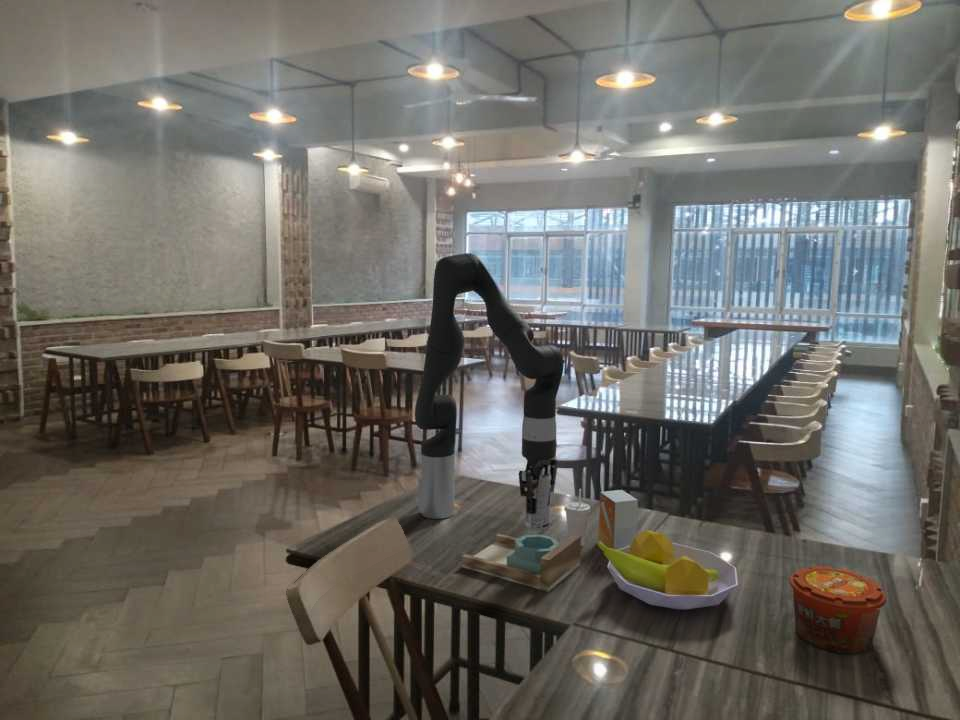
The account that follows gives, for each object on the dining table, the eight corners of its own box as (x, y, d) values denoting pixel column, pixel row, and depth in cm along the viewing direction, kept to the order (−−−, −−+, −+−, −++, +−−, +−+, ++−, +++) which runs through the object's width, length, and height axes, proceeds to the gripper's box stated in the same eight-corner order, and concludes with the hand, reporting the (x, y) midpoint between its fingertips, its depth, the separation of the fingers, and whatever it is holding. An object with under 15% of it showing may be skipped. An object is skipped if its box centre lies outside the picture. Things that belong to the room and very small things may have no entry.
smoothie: (591, 549, 170) (592, 493, 169) (564, 548, 171) (566, 493, 169) (587, 538, 177) (589, 485, 175) (562, 538, 177) (563, 484, 175)
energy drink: (549, 522, 159) (550, 471, 158) (549, 531, 154) (550, 478, 152) (525, 521, 160) (526, 470, 158) (524, 530, 155) (525, 477, 153)
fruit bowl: (732, 575, 157) (735, 526, 155) (738, 635, 131) (741, 578, 130) (607, 558, 165) (608, 512, 164) (588, 611, 140) (590, 557, 138)
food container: (799, 607, 142) (803, 557, 141) (889, 633, 132) (894, 580, 131) (774, 639, 130) (778, 584, 129) (871, 671, 120) (877, 612, 118)
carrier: (506, 567, 157) (507, 545, 156) (528, 552, 165) (528, 531, 164) (546, 578, 151) (547, 555, 151) (566, 562, 160) (567, 540, 159)
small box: (597, 541, 175) (599, 491, 173) (620, 538, 177) (622, 489, 175) (613, 554, 167) (615, 502, 166) (636, 551, 169) (638, 499, 168)
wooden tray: (462, 567, 160) (462, 537, 159) (498, 544, 173) (498, 516, 172) (548, 591, 148) (549, 560, 147) (580, 565, 161) (580, 535, 160)
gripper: (538, 445, 146) (537, 522, 148) (568, 431, 158) (566, 503, 160) (507, 440, 150) (506, 515, 152) (539, 427, 162) (537, 497, 164)
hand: (537, 509), depth 156 cm, fingers closed on energy drink, 5 cm apart
